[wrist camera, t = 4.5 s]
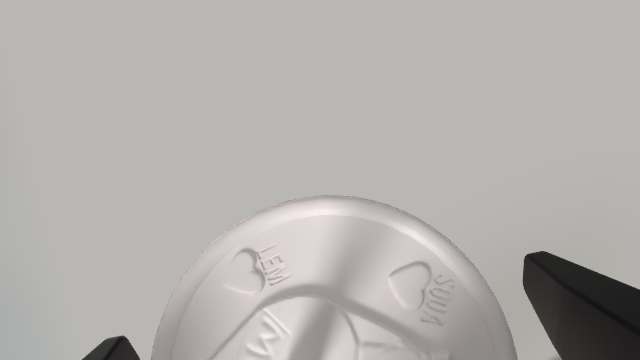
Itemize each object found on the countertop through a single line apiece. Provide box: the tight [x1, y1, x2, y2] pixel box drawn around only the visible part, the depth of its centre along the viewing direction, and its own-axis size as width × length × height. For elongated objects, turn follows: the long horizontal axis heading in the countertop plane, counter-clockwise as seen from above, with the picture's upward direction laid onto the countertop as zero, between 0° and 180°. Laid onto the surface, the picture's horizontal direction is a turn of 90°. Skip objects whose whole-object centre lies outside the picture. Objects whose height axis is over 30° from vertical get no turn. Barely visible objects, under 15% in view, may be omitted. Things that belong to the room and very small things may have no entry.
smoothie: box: [151, 196, 517, 360], centre depth 10 cm, size 6×6×14 cm
